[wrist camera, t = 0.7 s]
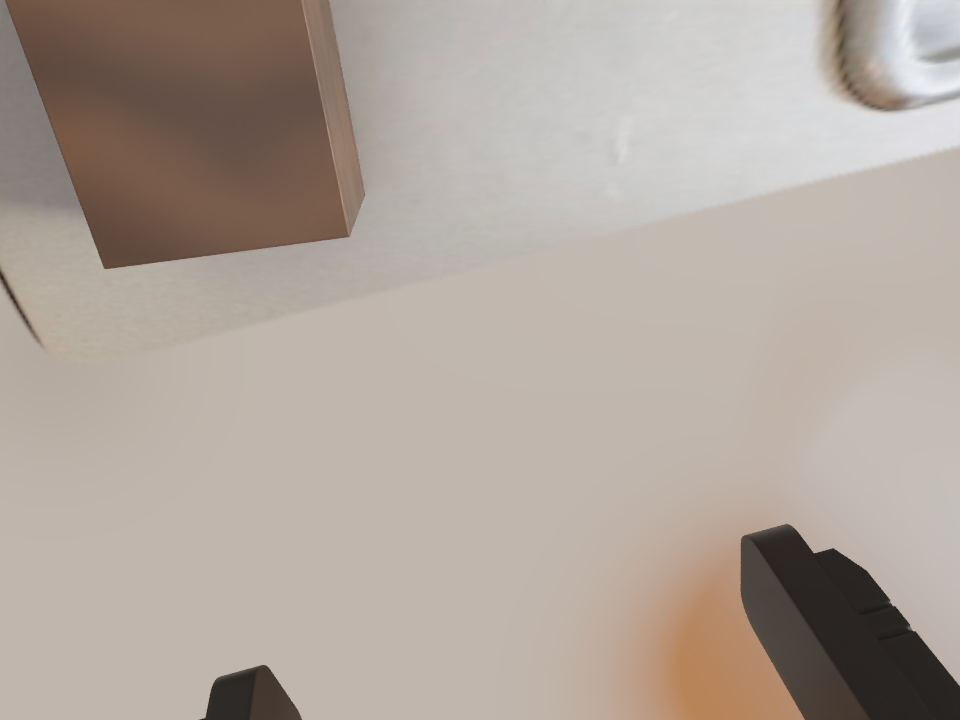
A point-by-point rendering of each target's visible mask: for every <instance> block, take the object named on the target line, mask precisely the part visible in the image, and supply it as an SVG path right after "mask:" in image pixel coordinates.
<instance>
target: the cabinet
mask: <svg viewBox="0 0 960 720" xmlns="http://www.w3.org/2000/svg"><path fill="white" fill-rule="evenodd" d="M5 1H6V4H7V6H8V9H9V12H10V15H11V17H12V20H13V23H14V25H15V28H16V31H17V33H18V36H19V39H20V42H21V44H22V47H23V50H24V52H25V55H26V58H27V61H28V63H29V66H30V69H31V71H32V74H33V77H34V80H35V82H36V85H37V88H38V90H39V93H40V96H41V98H42V101H43V104H44V107H45V109H46V112H47V115H48V117H49V120H50V123H51V126H52V128H53V131H54V134H55V136H56V139H57V142H58V144H59V147H60V150H61V153H62V155H63V158H64V161H65V163H66V166H67V169H68V172H69V174H70V177H71V180H72V182H73V185H74V188H75V191H76V193H77V196H78V199H79V201H80V204H81V207H82V209H83V212H84V215H85V218H86V220H87V223H88V226H89V228H90V231H91V234H92V237H93V239H94V242H95V245H96V247H97V250H98V253H99V256H100V258H101V261H102V264H103V266H104V268H105V269H111V268H118V267H126V266H134V265H141V264H149V263H156V262H164V261H171V260H179V259H186V258H194V257H202V256H209V255H217V254H224V253H232V252H239V251H247V250H254V249H262V248H269V247H277V246H285V245H292V244H300V243H307V242H315V241H322V240H330V239H337V238H345V237H349V236H350V234H351V231H352V228H353V226H354V223H355V220H356V217H357V215H358V212H359V209H360V207H361V204H362V201H363V198H364V196H365V193H364V187H363V182H362V176H361V171H360V166H359V160H358V155H357V150H356V144H355V139H354V133H353V128H352V123H351V117H350V112H349V106H348V101H347V96H346V90H345V85H344V79H343V74H342V69H341V63H340V58H339V53H338V47H337V42H336V36H335V31H334V26H333V20H332V15H331V9H330V4H329V0H5Z"/></svg>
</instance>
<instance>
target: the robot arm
mask: <svg viewBox="0 0 960 720" xmlns="http://www.w3.org/2000/svg"><path fill="white" fill-rule="evenodd" d="M741 597H742V602H743V605H744V609H745V612H746V614H747V617H748V619H749V622H750V624H751V626H752V628H753V630H754V631H755V633H756V635H757V637H758V638H759V640H760V642H761V644H762V646H763V647H764V649H765V651H766V652H767V654H768V656H769V658H770V660H771V661H772V663H773V665H774V666H775V668H776V670H777V672H778V673H779V675H780V677H781V679H782V680H783V682H784V684H785V686H786V687H787V689H788V691H789V693H790V694H791V696H792V698H793V700H794V701H795V703H796V705H797V707H798V708H799V710H800V712H801V713H802V715H803V717H804V719H805V720H960V686H959V685H958V684H957V682H956V681H955V680H954V679H953V677H952V676H951V675H950V674H949V673H948V671H947V670H946V669H945V667H944V666H943V665H942V664H941V663H940V661H939V660H938V659H937V657H936V656H935V655H934V654H933V653H932V651H931V650H930V649H929V648H928V646H927V645H926V644H925V643H924V642H923V640H922V639H921V638H920V637H919V635H918V634H917V633H916V632H914V631H912V629H911V627H910V624H909V623H908V622H907V620H906V619H905V618H904V617H903V616H902V614H901V613H900V612H899V610H898V609H897V608H896V607H895V606H894V607H893V606H892V604H891V602H890V599H889V598H888V597H887V596H886V594H885V593H884V592H883V590H881V588H880V587H879V586H878V584H877V583H876V582H875V581H874V580H873V578H872V577H871V576H870V574H869V573H868V572H867V571H866V570H864V569H863V568H862V567H860V566H859V565H857V564H856V563H854V562H853V561H851V560H850V559H848V558H847V557H845V556H844V555H843V554H841V553H839V552H838V551H837V550H835V549H834V548H833V549H829V550H825V551H822V552H818V553H815V554H814V553H813V552H812V550H811V549H810V548H809V546H808V545H807V544H806V542H805V541H804V540H803V538H802V537H801V535H800V534H799V533H798V532H797V531H796V530H795V529H794V528H793V527H792V526H791V525H788V524H785V525H781V526H777V527H774V528H770V529H766V530H763V531H759V532H755V533H752V534H748V535H745V536H743V537H742V539H741ZM200 720H302V719H301V716H300V714H299V712H298V710H297V708H296V707H295V705H294V704H293V702H292V701H291V700H290V698H289V697H288V695H287V694H286V692H285V691H284V689H283V688H282V686H281V685H280V683H279V682H278V680H277V679H276V677H275V676H274V674H273V673H272V672H271V670H270V669H269V668H268V667H267V666H265V665H261V666H258V667H254V668H250V669H246V670H243V671H239V672H236V673H232V674H229V675H224V676H221V677H219V678H217V679H216V680H215V682H214V684H213V686H212V689H211V693H210V698H209V704H208V708H207V713H206V718H205V719H200Z"/></svg>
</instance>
